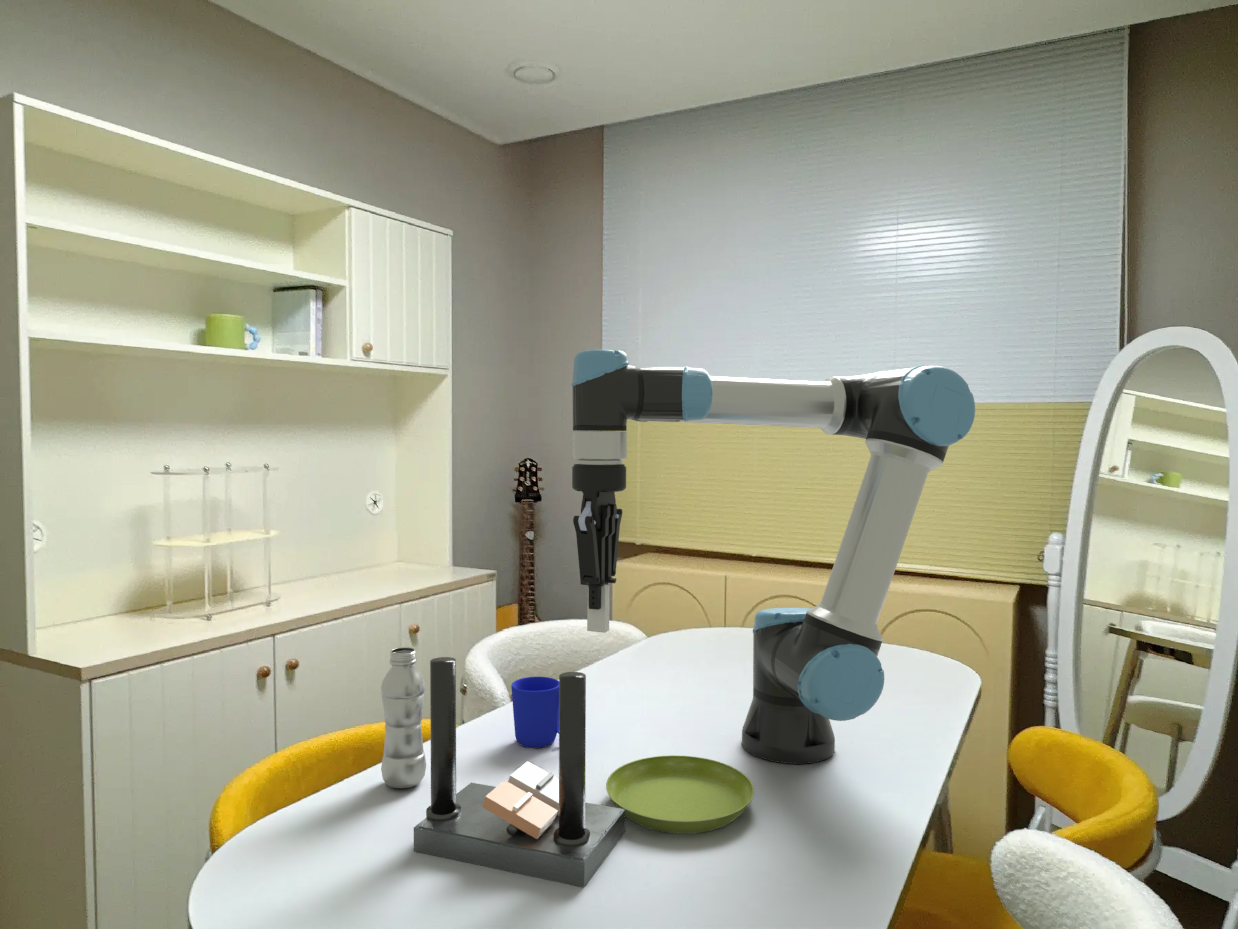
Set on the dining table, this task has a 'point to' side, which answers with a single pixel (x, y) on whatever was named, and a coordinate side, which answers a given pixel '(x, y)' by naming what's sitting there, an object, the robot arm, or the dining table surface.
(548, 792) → the paddle
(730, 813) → the saucer
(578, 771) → the twin post stand
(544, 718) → the mug
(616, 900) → the dining table surface
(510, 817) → the paddle
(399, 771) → the plastic bottle
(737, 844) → the dining table surface
